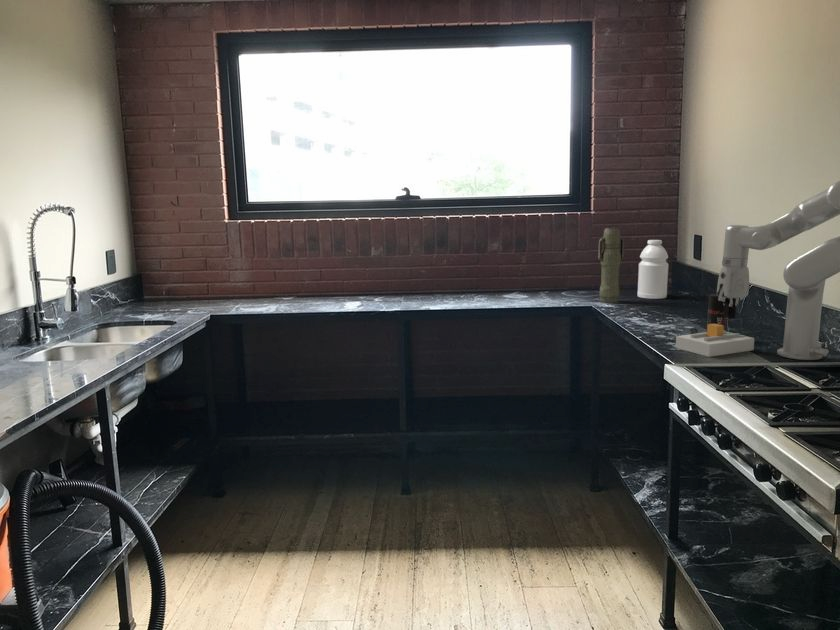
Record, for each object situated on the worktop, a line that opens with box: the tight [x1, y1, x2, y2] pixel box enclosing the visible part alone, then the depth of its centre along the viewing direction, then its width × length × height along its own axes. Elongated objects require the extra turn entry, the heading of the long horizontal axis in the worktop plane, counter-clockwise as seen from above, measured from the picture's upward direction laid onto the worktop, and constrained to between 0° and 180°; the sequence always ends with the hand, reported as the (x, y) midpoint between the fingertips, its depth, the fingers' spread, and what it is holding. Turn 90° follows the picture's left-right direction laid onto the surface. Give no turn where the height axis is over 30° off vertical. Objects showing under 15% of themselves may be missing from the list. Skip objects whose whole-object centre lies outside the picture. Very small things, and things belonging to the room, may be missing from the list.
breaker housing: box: [675, 330, 755, 358], centre depth 224 cm, size 14×20×5 cm
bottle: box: [636, 239, 669, 300], centre depth 332 cm, size 14×14×28 cm
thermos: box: [597, 226, 625, 304], centre depth 319 cm, size 9×12×35 cm
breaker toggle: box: [706, 324, 724, 337], centre depth 223 cm, size 4×3×4 cm
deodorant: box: [706, 293, 727, 331], centre depth 242 cm, size 6×6×15 cm
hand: (729, 317), depth 226 cm, fingers closed
